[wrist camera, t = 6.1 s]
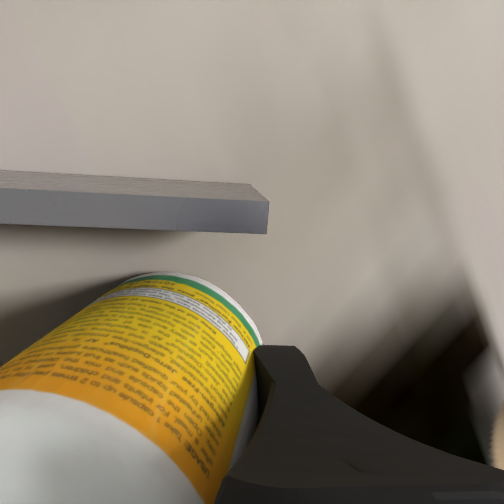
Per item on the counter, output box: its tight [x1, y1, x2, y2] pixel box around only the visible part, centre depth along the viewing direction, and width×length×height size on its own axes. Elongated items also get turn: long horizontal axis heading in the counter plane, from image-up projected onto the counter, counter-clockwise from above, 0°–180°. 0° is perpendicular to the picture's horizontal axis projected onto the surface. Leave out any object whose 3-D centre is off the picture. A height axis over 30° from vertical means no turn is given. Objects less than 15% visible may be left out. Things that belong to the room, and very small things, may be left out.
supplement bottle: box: [0, 272, 263, 504], centre depth 8 cm, size 5×5×10 cm
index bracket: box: [0, 170, 269, 234], centre depth 11 cm, size 10×9×3 cm
